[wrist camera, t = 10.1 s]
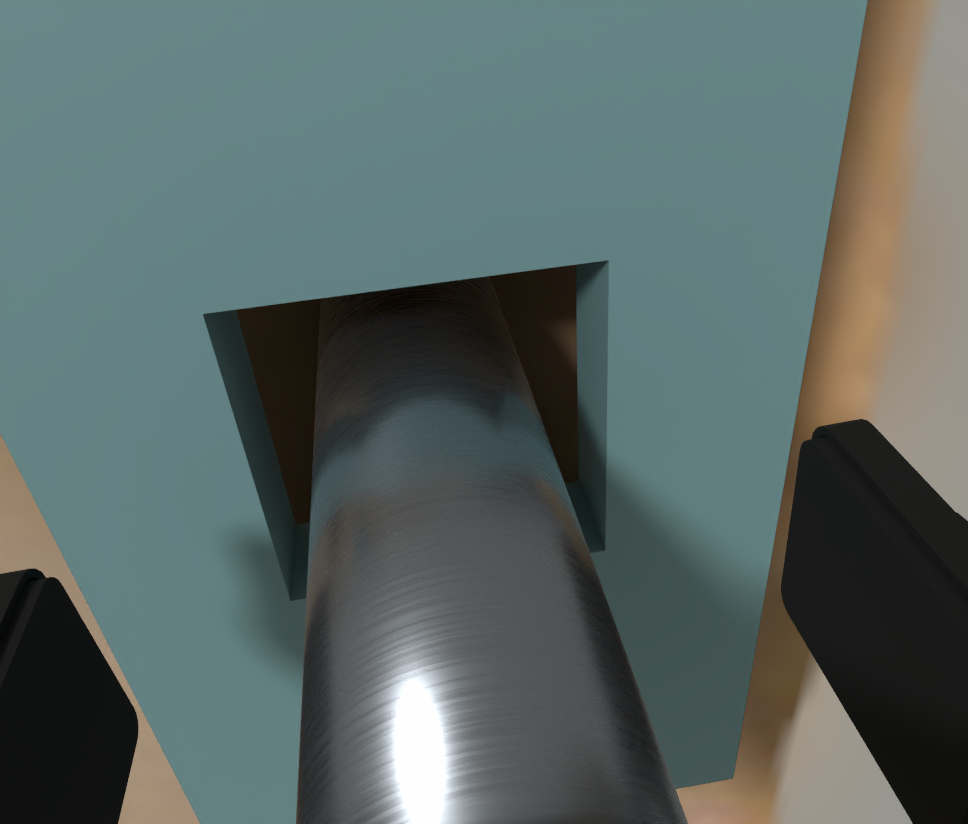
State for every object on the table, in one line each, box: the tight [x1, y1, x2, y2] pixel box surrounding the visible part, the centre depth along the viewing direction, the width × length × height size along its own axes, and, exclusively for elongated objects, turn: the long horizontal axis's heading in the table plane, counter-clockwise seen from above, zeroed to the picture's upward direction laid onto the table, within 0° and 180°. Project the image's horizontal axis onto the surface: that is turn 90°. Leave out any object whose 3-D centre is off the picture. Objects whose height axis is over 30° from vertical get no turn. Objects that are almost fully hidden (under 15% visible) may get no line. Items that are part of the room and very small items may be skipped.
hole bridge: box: [0, 0, 868, 824], centre depth 15 cm, size 22×12×5 cm, turn 4°
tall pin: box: [296, 276, 688, 824], centre depth 12 cm, size 4×4×12 cm
